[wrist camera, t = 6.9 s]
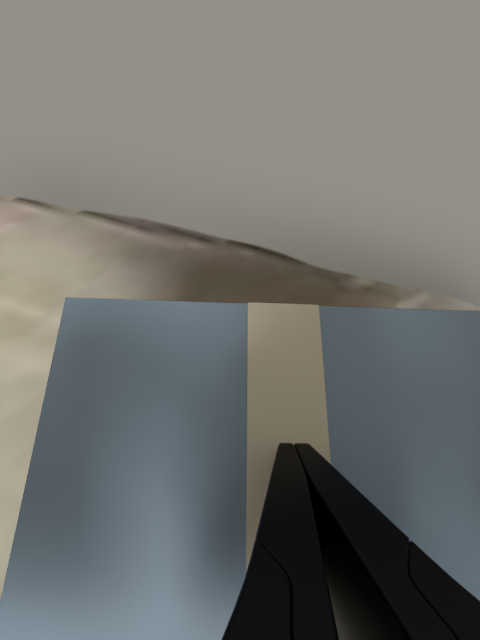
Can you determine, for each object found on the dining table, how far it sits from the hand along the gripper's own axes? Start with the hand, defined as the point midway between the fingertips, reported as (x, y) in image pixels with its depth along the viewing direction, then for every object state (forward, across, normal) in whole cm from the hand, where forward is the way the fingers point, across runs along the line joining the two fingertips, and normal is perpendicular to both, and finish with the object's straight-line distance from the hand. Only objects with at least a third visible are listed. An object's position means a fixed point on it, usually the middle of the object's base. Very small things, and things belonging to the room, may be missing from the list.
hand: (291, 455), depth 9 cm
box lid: (+1, 0, +1) cm, 1 cm away
